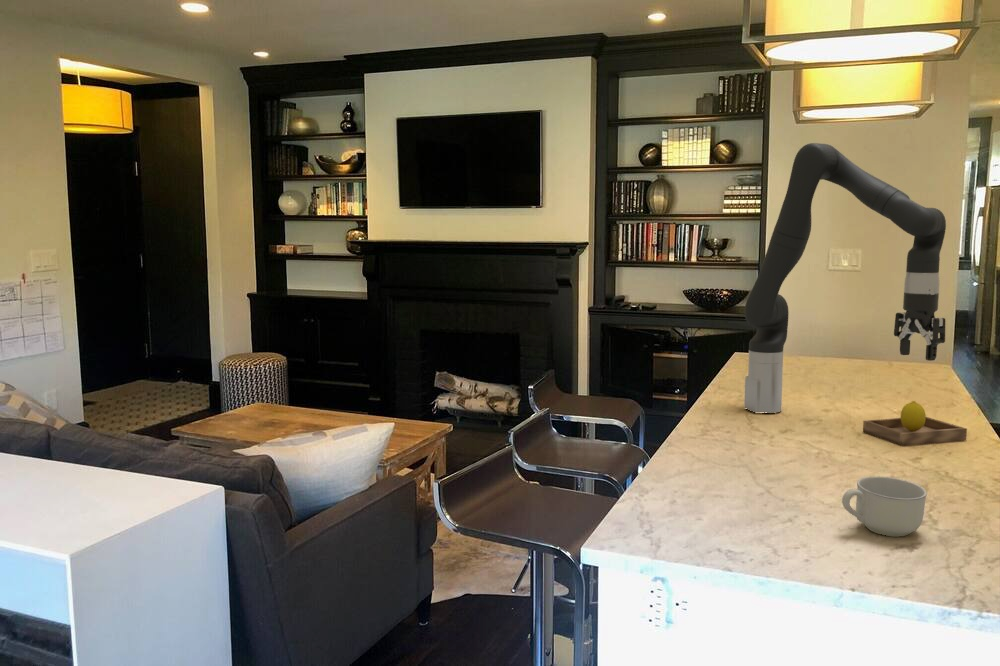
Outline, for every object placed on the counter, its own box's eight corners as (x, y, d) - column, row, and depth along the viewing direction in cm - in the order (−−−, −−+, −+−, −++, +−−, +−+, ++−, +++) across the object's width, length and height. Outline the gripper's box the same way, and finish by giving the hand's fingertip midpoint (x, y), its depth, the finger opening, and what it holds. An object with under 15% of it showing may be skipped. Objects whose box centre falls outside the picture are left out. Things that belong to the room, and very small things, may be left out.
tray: (902, 446, 194) (903, 433, 193) (862, 432, 207) (863, 420, 207) (966, 440, 198) (966, 428, 198) (923, 427, 211) (924, 416, 211)
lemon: (928, 435, 200) (929, 403, 199) (903, 435, 201) (904, 403, 200) (921, 430, 205) (922, 399, 204) (897, 430, 206) (898, 398, 205)
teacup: (906, 519, 146) (909, 475, 145) (936, 542, 135) (939, 495, 134) (827, 519, 146) (828, 475, 145) (850, 542, 135) (852, 495, 134)
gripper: (887, 289, 204) (884, 354, 206) (930, 293, 190) (926, 363, 192) (913, 288, 206) (909, 352, 208) (957, 293, 192) (952, 361, 194)
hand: (917, 357), depth 200 cm, fingers open, 8 cm apart
